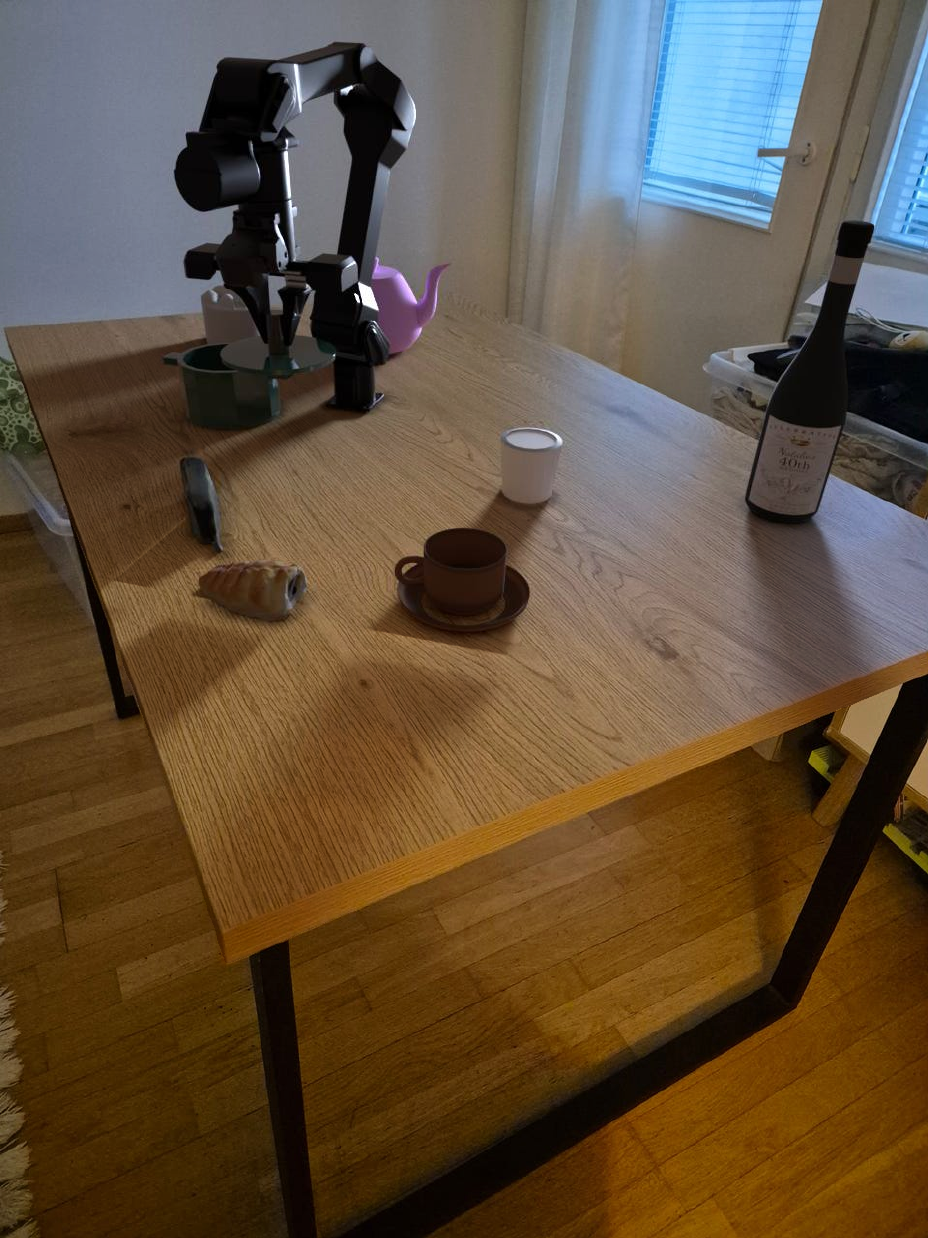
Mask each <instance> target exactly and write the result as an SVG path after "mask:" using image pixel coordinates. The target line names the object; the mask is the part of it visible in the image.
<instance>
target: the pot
mask: <svg viewBox="0 0 928 1238" xmlns="http://www.w3.org/2000/svg"><path fill="white" fill-rule="evenodd" d="M229 344H231V343H216V344H207V343H206V344H203V345H199V346H196V347H191V348H189V349H187V350H184V351H183V352H175V351H171V352H169V353H168V354H165V355H164V356H162V362H163V365H167V366H173V367H177V369H178V377H179V382H180V388H181V395H182V401H183V407H184V408H183V409H184V414H186V419H188V421H190V422H191V423H192V424H194V425H196V426H199V427H203V428H207V429H214V430H241V429H242V430H243V429H249V428H255V427H258V426H262V425H265V424H268V423H271V422H272V421H274V420H275V419H277V418H278V417H279V416H280V414H281V412H282V411H281V410H282V409H281V408H282V407H281V406H282V403H281V402H282V401H281V393H280V381H289V380H290V379H291V378H293V377H294V376H295V375H296V374H291V375H258V374H250V373H244V372H240V371H236V370H234V369H231V368H229V367H227V366H226V365H224V364H223V362H222V360H221V351H222V349H223V348H224V347H226V346H227V345H229ZM279 380H280V381H279Z"/></svg>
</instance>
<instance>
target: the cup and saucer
mask: <svg viewBox="0 0 928 1238" xmlns="http://www.w3.org/2000/svg"><path fill="white" fill-rule="evenodd" d="M507 557H508V547H507V545H506V543H505V542H504V540H503V539H501V537H499V536H497V535H496V534H495V533H492V532H489V531H487V530H483V529H478V528H472V527H454V528H448V529H443V530H440V531H437V532H435V533H433V534H431V535H430V536H429V537H428V538H427V539H426V540H425V542H424V543H423V556H420V555H408V556H404V557H402V558H400V560H398V561H397V562H396V564H395V566H394V576H395V578H396V580H397V581H398V583H397V587H396V588H397V589H396V590H397V591H396V592H397V597H398V599H399V602H400V604H401V606H402V607H403V608H404V610H405V611H406V612H407V613H408V614H409V615H410V616H412V617H413V618H415V619H417V620H418V621H420V622H421V623H423V624H425V625H427V626H429V627H432V628H435V629H439V630H443V631H448V632H456V633H477V632H485V631H489V630H493V629H496V628H499V627H501V626H504V625H506V624H509V623H510V622H511V621H513V620H515V619H516V618H518V617H519V616H521V614H522V613H523V612H524V611H525V609H526V607H527V606H528V604H529V601H530V597H531V589H530V586H529V583H528V581H527V580H526V579H525V577H524V576H523V575H522V574H521V573H520V572H519V571H518V570H516V569H515V568H513V567H512V566H510V565H508V564H507ZM409 564H414V565H413V566H411V567H409V568H408V569H407V570H405V572H404V573H403V572H402V571H403V568H404V567H405V566H406V565H409ZM424 594H425V596H426V597H427V598H428V600H429V601H430V602H431V603H432V604H433V605H434V606H435V607H436V608H438V609H439V610H441V611H443V612H445V613H447V614H452V615H454V616H475V615H479V614H481V613H484V612H487V611H488V610H490V609H491V608H493V607H494V606H495V605H496V604H497V602H498V601H500V599H501V598H502V597H503V600H504V607H503V609H502V611H501V612H500V613H499V614H498V615H497V616H496V617H495V618H492V619H491V620H488V621H485V622H482V623H477V624H466V625H465V624H464V625H463V624H454V623H450V622H449V623H448V622H445V621H441V620H439V619H437V618H435V617H433V616H432V615H430V614H429V613H428V612H427V611H426V610H425V608H424V606H423V604H422V598H423V595H424Z"/></svg>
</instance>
